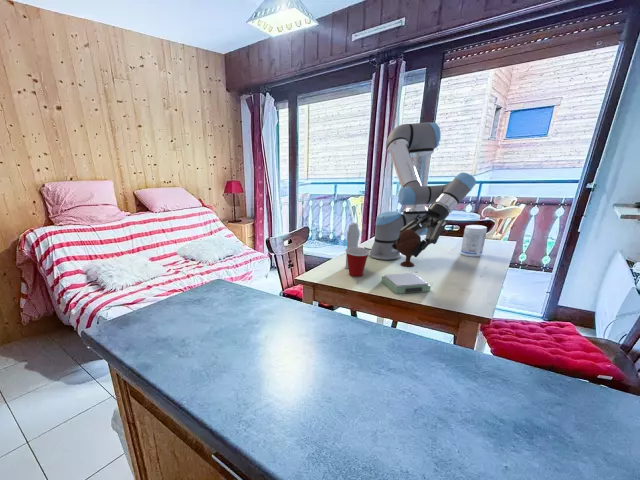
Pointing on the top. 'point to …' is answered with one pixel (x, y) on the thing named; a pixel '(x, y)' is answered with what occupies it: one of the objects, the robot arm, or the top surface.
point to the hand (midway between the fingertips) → (403, 251)
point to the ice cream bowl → (407, 245)
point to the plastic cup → (356, 260)
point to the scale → (405, 283)
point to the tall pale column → (352, 237)
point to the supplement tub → (473, 240)
